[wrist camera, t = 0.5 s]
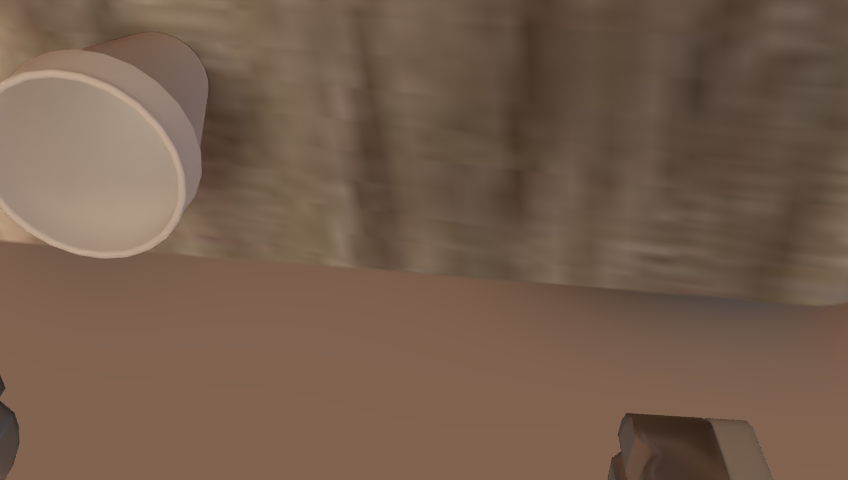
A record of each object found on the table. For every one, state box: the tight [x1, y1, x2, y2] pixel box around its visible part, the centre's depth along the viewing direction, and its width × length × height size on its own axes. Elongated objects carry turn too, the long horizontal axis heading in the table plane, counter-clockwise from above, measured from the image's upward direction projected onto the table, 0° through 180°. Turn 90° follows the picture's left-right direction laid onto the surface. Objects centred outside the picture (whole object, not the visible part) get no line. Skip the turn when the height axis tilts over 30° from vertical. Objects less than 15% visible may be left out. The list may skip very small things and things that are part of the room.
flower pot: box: [0, 32, 208, 259], centre depth 50 cm, size 12×12×14 cm
